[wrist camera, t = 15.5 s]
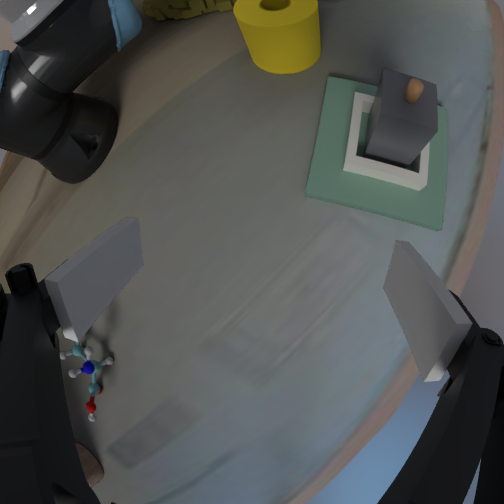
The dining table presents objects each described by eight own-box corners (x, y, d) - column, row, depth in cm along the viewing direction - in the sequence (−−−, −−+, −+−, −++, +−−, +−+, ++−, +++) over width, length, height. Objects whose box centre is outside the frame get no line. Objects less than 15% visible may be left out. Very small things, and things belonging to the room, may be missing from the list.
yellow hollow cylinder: (314, 78, 32) (310, 30, 22) (242, 70, 34) (222, 26, 25) (325, 32, 31) (322, -14, 22) (260, 26, 34) (246, -16, 24)
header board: (305, 196, 31) (303, 187, 27) (328, 82, 31) (328, 64, 27) (436, 230, 28) (451, 226, 24) (443, 114, 28) (454, 99, 24)
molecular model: (50, 355, 35) (30, 369, 26) (88, 321, 39) (74, 327, 30) (97, 408, 37) (89, 433, 27) (135, 375, 40) (134, 395, 31)
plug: (363, 157, 28) (385, 100, 17) (368, 119, 28) (386, 54, 16) (405, 169, 27) (446, 120, 15) (408, 130, 27) (443, 72, 15)
